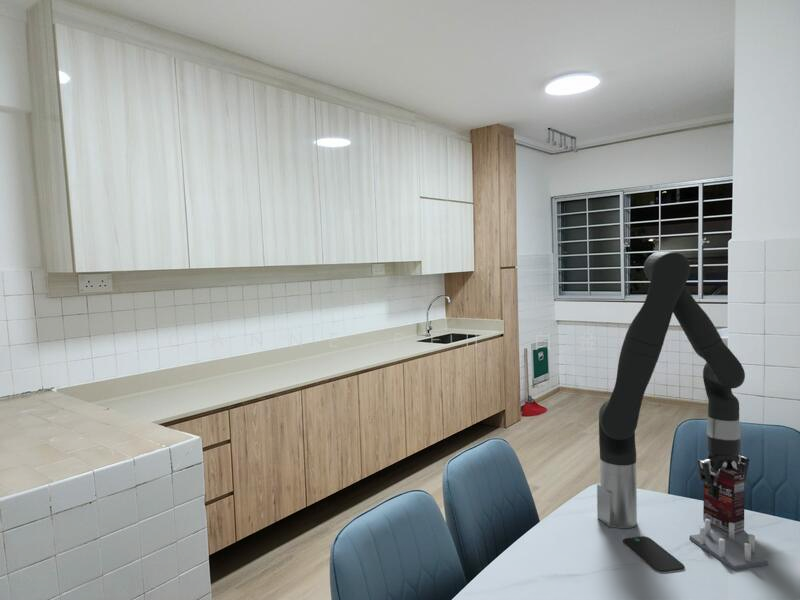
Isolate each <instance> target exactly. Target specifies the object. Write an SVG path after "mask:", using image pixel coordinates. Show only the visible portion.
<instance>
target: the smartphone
mask: <svg viewBox="0 0 800 600" xmlns="http://www.w3.org/2000/svg"><path fill="white" fill-rule="evenodd" d="M622 544H623V545H625V546H626V547H627V549H629V550H630V551H631V552H633V554H635V555H636V556H637V557H638V558H639V559H640V560H641V561H643V562H644V563H645V564H646V565H647V566H648V567H649V568H650V569H651V570H653V571H654V572H657V573H659V574H668V573H676V572H682V571H685V569H686V568H685V564H683V563H682V562H681V561H680V560H679V559H677V558H676V557H675V556H673V555H672V554H671V553H670V552H668V551H667V550H665V548H664V547H662V546H661V545H659V544H658V543H657V542H656V541H655V540H653V539H652V538H650V537H649V536H644V535H643V536H633V537H627V538H623V540H622Z"/></svg>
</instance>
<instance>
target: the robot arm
mask: <svg viewBox="0 0 800 600" xmlns="http://www.w3.org/2000/svg"><path fill="white" fill-rule="evenodd" d="M643 265H644V266H643V272H644V275H645V277H646V279H648V281H649V287H648V290H647V295H646V297H645V300H644V302H643V304H642V306H641V308H640V309H639V311H638V312H637V313H636V315H635V317H634V318H633V320H632V321H631V323H630V325H629V327H628V328H627V330H626V334H625V335H624V336H625V337H624V339H623V343H622V346H621V349H620V353H619V356H618V357H619V359H618V364H617V372H616V380H615V383H614V388H613V390H612V393H611V395H610V398H609V400H606V401H605V402H604V403H603V404H602V405H601V406H600V408H599V412H598V444H599V447H598V448H599V483H598V484H597V485H596V498H597V500H596V502H597V504H596V505H597V506H596V508H597V509H596V512H597V513H596V514H597V518H598V519H599V520H600V521H601V522H603V523H604V524H605V525H606V526H607V527H609V528H617V529H630V528H635V527H636V526H637V523H638V516H637V515H638V513H637V512H638V511H637V510H638V509H637V506H638V504H637V503H638V501H637V499H638V497H637V492H638V491H637V447H636V430H637V428H638V427H637V426H638V422H639V417H640V412H641V408H642V403H643V399H644V395H645V393H646V390H647V387H648V385H649V383H650V381H651V378H652V376H653V373H654V371H655V370H656V369H655V368H656V367H657V363H658V362H659V361H658V360H659V359H660V354H661V352H662V349H663V346H664V343H665V339H666V335H667V333H668V329H669V327H670V324H671V321H672V320H671V319H672V318H673V317H672V316H673V315H674V316H675V319H676V320H677V322H678V323H679V325H680V327H681V329H682V331H683V332H684V335H685V336H686V338H687V340H688V341H689V344H690V345H691V348H692V349H693V350H694V352H695V353H696V354H697V356H698V357H700V358H701V359H703V360H704V362H705V364H704V366H703V370H702V379H703V384H704V388H705V393H706V396H707V401H708V403H707V422H706V449H707V451H708V456H707V459H704V460H701V459H698V460H697V466H698V471H699V472H698V473H699V476H700V481H702V482H703V483H704V482H706V483H707V484H708V494H709V495H710V497H711V498H713V499H718V486H717V484H718V482H719V479H720V478H722V471H724V469H737V470H740V471H743V472H745V480H747V474H748V469H749V465H750V464H749V463H750V459H749V457H746V456H743V455H740V454H741V422H740V401H739V398H737V396H735V395H734V394H733V392H732V391H733V390H732V389H737V388H739V387H740V386H742V385H743V384H744V382H745V378H746V372H745V369H744V367H743V365H742V363H741V362H740V360H739V359H738V358H737V356H736V355H735V354H734V353H733V352H732V351H731V349H730V348H729V347H728V346H727V345H726V344H725V342H724V341H723V339H722V336H721V335H720V332H718V329H717V327H716V326H715V324H714V323H713V321H712V320H711V318H710V317H709V316H708V314H707V313H706V311H705V310H703V308H702V307H701V306H700V305H699V304H698V302H697V301H696V300H695V298H694V296H693V295H692V294H691V292H690V290H689V289H688V288H687V285H686V283H687V281H688V279H689V277H690V274H691V273H690V272H691V264H690V261H689V259H688V257H686V256H685V255H684V254H682V253H680V252H677V251H669V250H668V251H666V250H664V251H656V252H654V253H651V255H649V256H648V257H647V258H646V260H645V261H644V264H643ZM712 468H713V469H714V470H715V471H717V472H718V473H714V472H712V470H711V469H712ZM713 475H714V480H713Z"/></svg>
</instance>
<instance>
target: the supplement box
mask: <svg viewBox="0 0 800 600" xmlns="http://www.w3.org/2000/svg"><path fill="white" fill-rule="evenodd" d="M711 470H712V472H714V473H718V472H717V471H715V470H714V469H713V468H712V469H711ZM713 480H714V475H713ZM745 483H746V479H745V472H743V471H742V470H741V471H740V470H737V469H724V471H722V478H720V479H719V482H718V484H717V486H718V499H713V498H711V497H710V495H709V494H708V484H707V483H706V482H704V481H703V510H702V511H703V519H702V521H704V522H705V519H710V520H711V525H714V526H715V527H718V528H720V529H721V530H724V531H726V532H728V533H729V523H734V534H736V533H740V532H743V531H745V498H746V497H745V495H746V484H745Z"/></svg>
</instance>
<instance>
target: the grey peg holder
mask: <svg viewBox="0 0 800 600" xmlns="http://www.w3.org/2000/svg"><path fill="white" fill-rule="evenodd" d="M711 525H712V524H711V520H710V519H705V521H704V525H703V526H699V533H697V534H692V535H689V540H690V541H691V542H693V543H695V544H696V545H697V546H698V547H700V548H702V549H703V550H705V551H706V552H707V553H709V554H710V555H711V556H713V557H715V558H716V559H717V560H719V561H720V562H722V563H723V564H725V565H726V566H727V567H729V568H730V569H732V570H733V571H736V570H743V569H749V568H756V567H757V568H758V567H761V566H762V567H763V566H768V565H769V560H768V559H766V558H764V557H763V556H762V555H760V554H758V553H756V535H755V534H752V533H749V534H748V542H744V544H742V543H740V542H739V541H738V540H735V533H734V523H729V532H728V535H727V534H726V533H724V532H722V531H712V532H711Z"/></svg>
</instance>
